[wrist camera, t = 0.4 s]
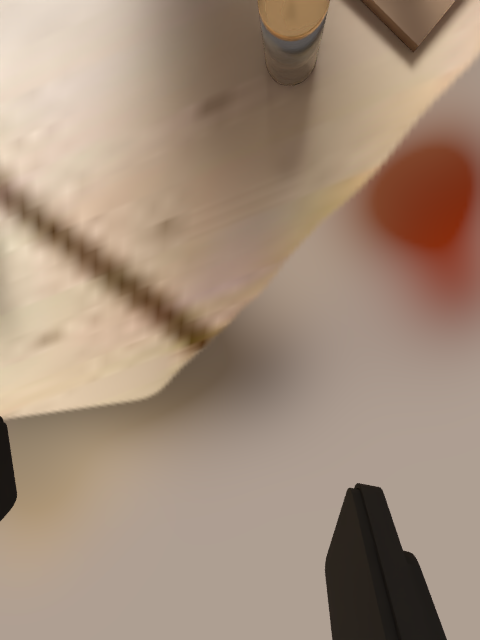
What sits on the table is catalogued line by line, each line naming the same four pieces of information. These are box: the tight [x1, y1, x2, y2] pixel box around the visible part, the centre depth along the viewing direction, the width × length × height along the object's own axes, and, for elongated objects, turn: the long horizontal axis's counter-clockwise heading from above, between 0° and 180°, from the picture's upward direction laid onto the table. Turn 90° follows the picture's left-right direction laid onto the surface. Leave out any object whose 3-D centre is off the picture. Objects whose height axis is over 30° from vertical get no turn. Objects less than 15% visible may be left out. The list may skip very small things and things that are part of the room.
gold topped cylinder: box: [258, 0, 330, 86], centre depth 25 cm, size 4×4×10 cm
